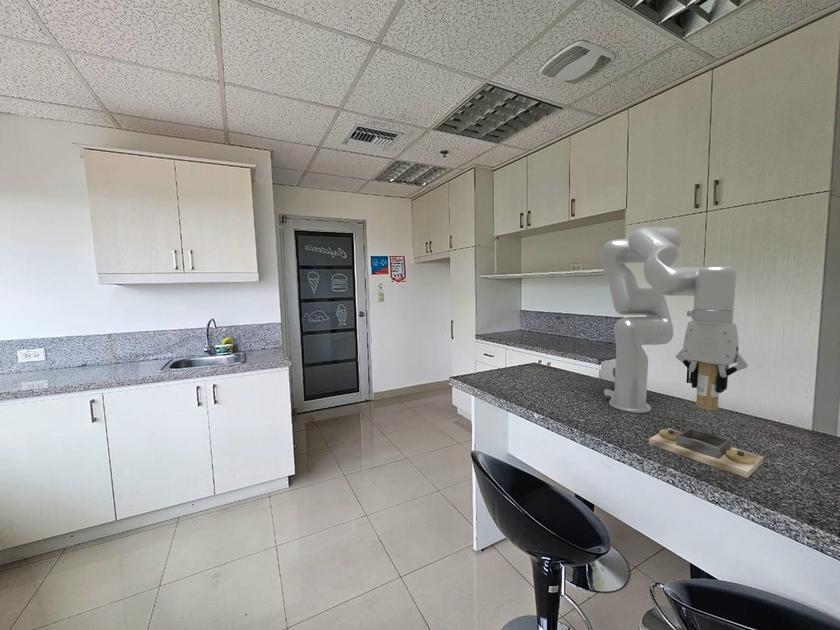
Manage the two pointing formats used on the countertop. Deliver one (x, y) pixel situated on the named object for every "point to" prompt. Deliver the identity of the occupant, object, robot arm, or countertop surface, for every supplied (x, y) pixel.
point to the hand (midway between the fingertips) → (707, 388)
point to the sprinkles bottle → (707, 386)
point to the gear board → (708, 450)
